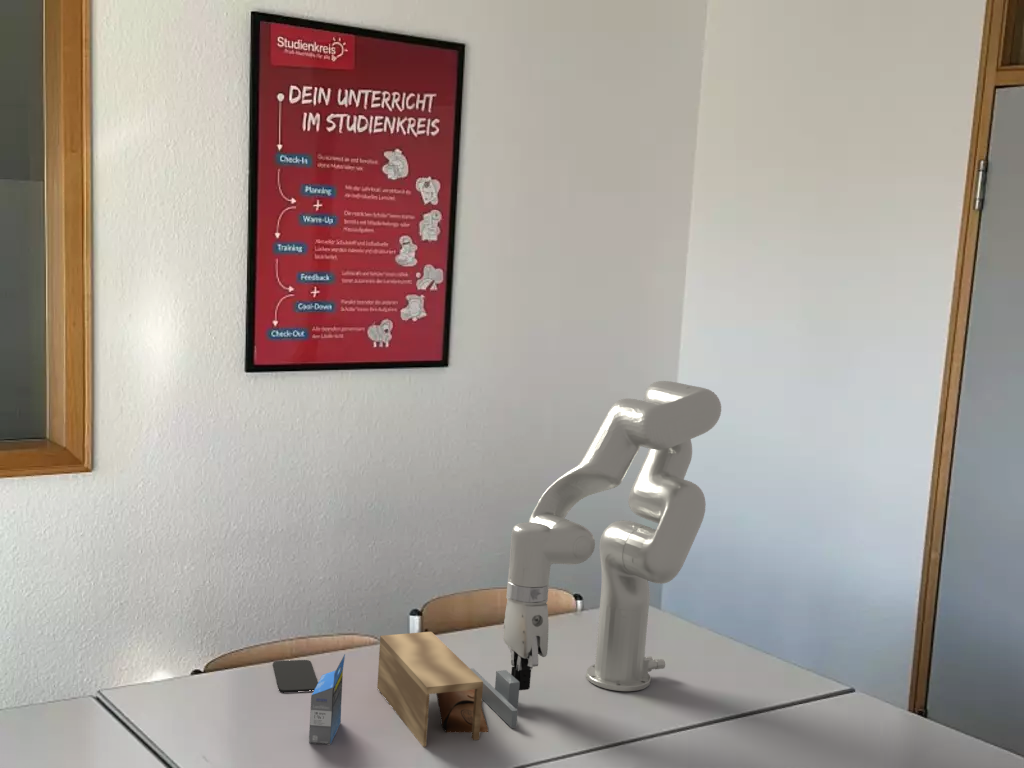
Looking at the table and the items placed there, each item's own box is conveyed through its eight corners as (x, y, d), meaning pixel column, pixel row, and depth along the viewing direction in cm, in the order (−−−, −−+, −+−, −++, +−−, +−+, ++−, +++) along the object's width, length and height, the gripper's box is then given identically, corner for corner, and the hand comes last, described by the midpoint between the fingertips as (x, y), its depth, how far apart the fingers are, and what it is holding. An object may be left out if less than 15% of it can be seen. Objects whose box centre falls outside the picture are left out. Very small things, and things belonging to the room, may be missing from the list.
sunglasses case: (491, 732, 191) (474, 699, 189) (455, 752, 190) (437, 720, 189) (479, 690, 208) (463, 661, 207) (446, 709, 208) (429, 679, 207)
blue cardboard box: (318, 720, 191) (322, 651, 189) (341, 722, 191) (345, 653, 189) (307, 743, 182) (311, 670, 180) (331, 745, 182) (335, 672, 180)
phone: (310, 659, 217) (320, 688, 203) (310, 663, 217) (320, 693, 203) (272, 660, 215) (279, 690, 201) (271, 665, 215) (279, 695, 201)
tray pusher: (489, 681, 213) (491, 656, 212) (534, 724, 195) (536, 697, 194) (467, 684, 211) (469, 658, 210) (511, 727, 193) (513, 699, 192)
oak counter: (427, 683, 210) (431, 631, 209) (479, 739, 188) (483, 681, 186) (377, 688, 206) (380, 635, 205) (423, 746, 183) (427, 687, 182)
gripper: (564, 602, 197) (556, 702, 199) (528, 578, 210) (521, 671, 212) (526, 605, 194) (518, 706, 196) (492, 580, 207) (485, 675, 209)
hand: (519, 688), depth 204 cm, fingers closed
